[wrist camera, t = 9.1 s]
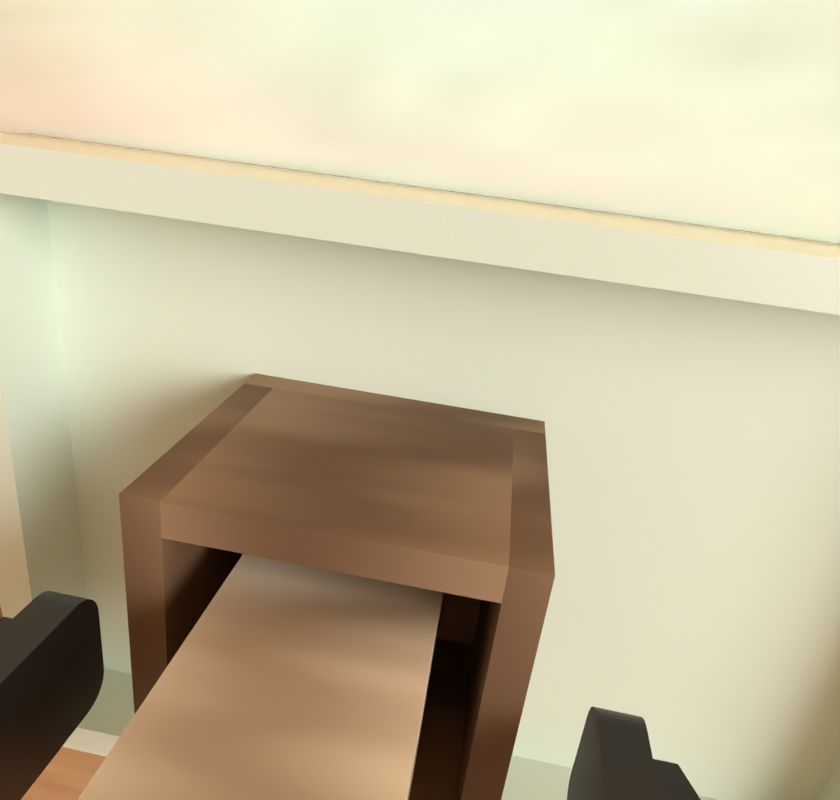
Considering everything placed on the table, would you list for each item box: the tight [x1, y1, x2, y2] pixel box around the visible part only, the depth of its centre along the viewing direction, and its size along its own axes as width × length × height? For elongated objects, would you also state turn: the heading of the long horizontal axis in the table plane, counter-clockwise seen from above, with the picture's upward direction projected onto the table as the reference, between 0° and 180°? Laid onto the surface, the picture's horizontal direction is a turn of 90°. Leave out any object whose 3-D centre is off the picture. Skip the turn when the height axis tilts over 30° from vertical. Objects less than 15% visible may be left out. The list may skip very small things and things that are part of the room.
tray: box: [0, 133, 840, 800], centre depth 14 cm, size 20×14×2 cm
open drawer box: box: [119, 373, 555, 800], centre depth 12 cm, size 6×6×5 cm
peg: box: [78, 554, 445, 800], centre depth 10 cm, size 3×3×8 cm
